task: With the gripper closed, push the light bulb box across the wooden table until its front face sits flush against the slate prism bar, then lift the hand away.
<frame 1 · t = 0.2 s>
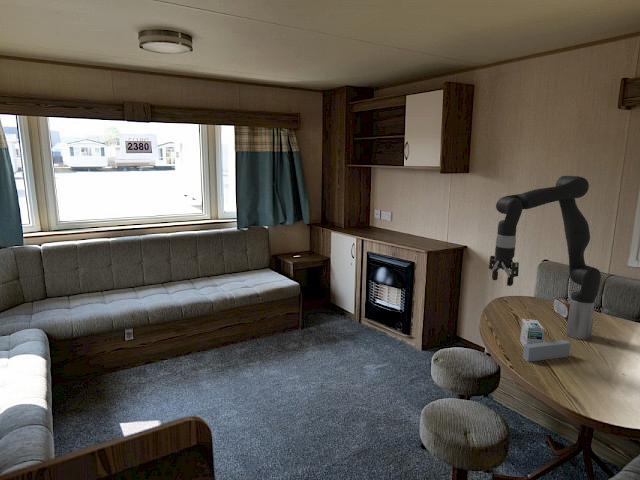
hand: (501, 282, 182), 28 cm above the table, tool pointing down, fingers open, 8 cm apart
slate prism bar: (545, 357, 177), on the table
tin: (561, 316, 224), on the table
light bulb box: (530, 347, 187), on the table
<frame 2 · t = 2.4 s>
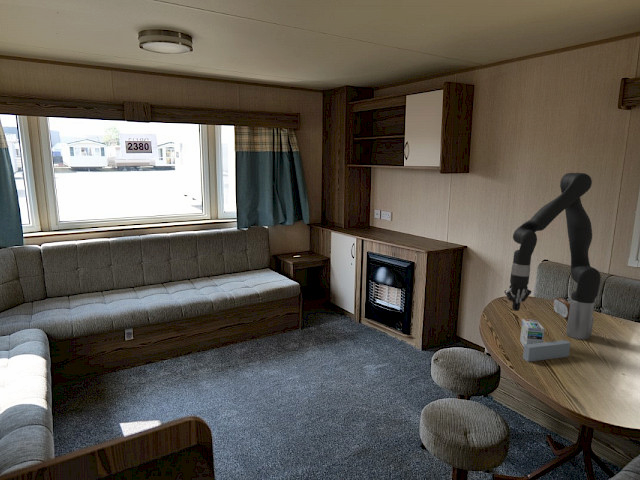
hand: (515, 310, 195), 13 cm above the table, tool pointing down, fingers closed
nothing on the table moved.
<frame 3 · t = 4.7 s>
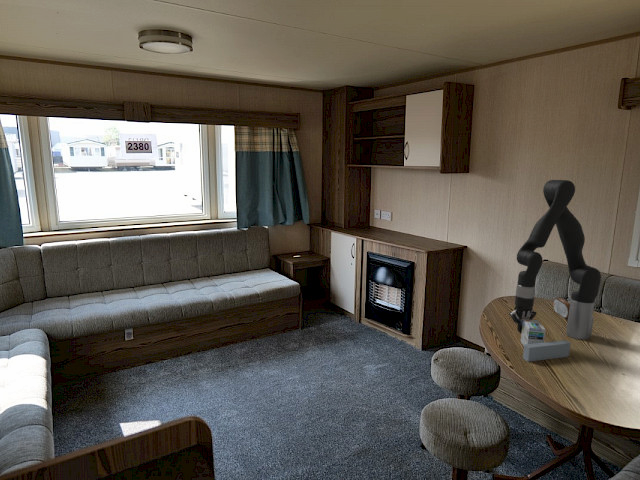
hand: (520, 331, 192), 4 cm above the table, tool pointing down, fingers closed
light bulb box: (531, 347, 186), on the table, touching gripper
everything else where it was.
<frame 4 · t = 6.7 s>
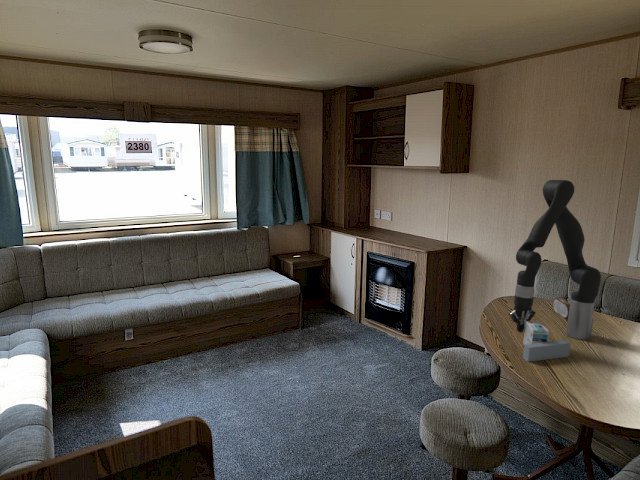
hand: (520, 331, 192), 4 cm above the table, tool pointing down, fingers closed
light bulb box: (534, 349, 184), on the table
everything else where it was.
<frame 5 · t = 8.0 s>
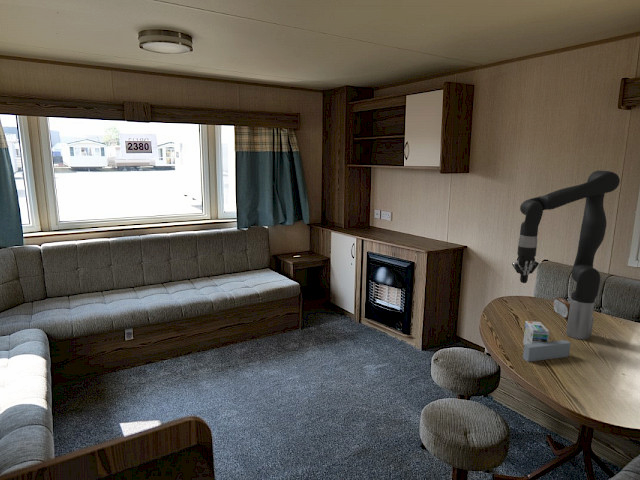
hand: (523, 282, 195), 25 cm above the table, tool pointing down, fingers closed
nothing on the table moved.
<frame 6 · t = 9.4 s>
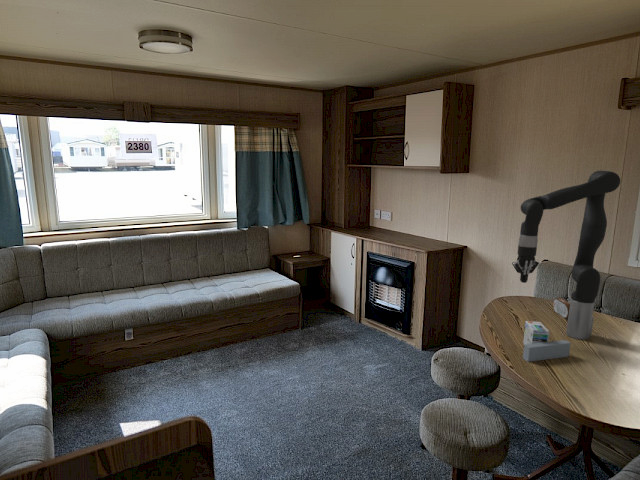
hand: (523, 282, 195), 25 cm above the table, tool pointing down, fingers closed
nothing on the table moved.
at the end: light bulb box 0.3 cm from the target spot on the table beside the slate prism bar, on the table; light bulb box tilted 0° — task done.
